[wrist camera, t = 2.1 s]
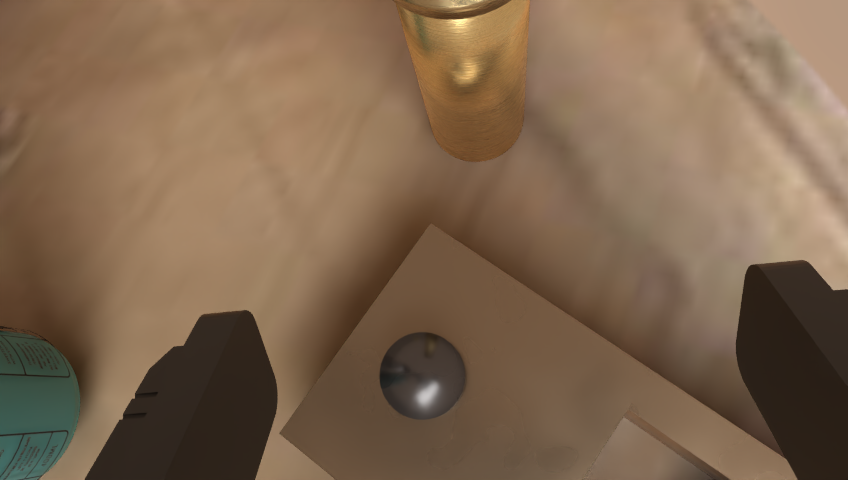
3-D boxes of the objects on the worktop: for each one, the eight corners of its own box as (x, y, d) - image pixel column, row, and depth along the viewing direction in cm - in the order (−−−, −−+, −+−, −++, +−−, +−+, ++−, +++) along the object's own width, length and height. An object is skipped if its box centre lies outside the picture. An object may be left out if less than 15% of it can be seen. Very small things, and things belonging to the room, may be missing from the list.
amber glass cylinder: (400, 133, 28) (324, -51, 17) (463, 49, 29) (432, -186, 17) (491, 191, 27) (478, 36, 15) (555, 102, 28) (588, -112, 16)
